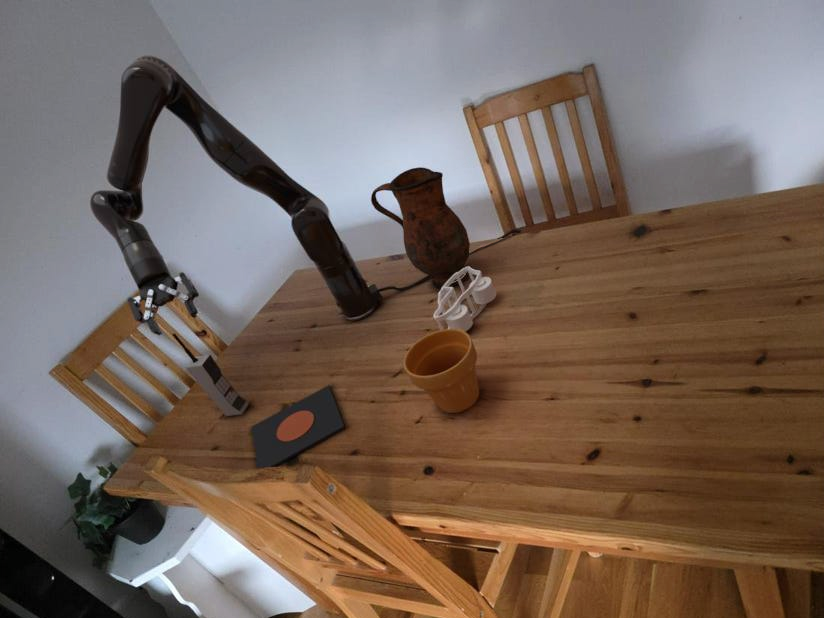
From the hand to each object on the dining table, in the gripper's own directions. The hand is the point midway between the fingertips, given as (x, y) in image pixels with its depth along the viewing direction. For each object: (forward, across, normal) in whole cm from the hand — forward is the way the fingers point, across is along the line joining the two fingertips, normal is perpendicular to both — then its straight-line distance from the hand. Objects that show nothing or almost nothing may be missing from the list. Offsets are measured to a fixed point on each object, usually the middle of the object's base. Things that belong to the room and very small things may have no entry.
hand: (176, 325), depth 136 cm
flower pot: (+47, +47, -12) cm, 68 cm away
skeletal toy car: (+29, +60, +6) cm, 67 cm away
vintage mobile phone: (+21, 0, +14) cm, 25 cm away
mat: (+34, +13, 0) cm, 37 cm away
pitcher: (+14, +62, +21) cm, 67 cm away
